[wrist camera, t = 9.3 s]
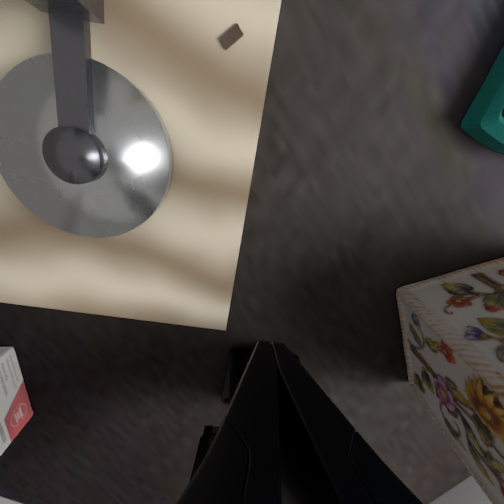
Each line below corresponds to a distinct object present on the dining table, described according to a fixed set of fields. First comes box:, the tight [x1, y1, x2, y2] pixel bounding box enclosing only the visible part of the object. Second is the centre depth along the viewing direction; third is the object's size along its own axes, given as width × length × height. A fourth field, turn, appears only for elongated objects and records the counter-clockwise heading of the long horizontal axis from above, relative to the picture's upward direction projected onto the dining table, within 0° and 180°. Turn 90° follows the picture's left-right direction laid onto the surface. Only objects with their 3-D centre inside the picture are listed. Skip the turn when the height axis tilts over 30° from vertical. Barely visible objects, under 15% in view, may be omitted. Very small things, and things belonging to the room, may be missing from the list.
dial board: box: [0, 0, 281, 331], centre depth 18 cm, size 24×20×2 cm
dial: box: [0, 0, 174, 238], centre depth 14 cm, size 14×10×5 cm
